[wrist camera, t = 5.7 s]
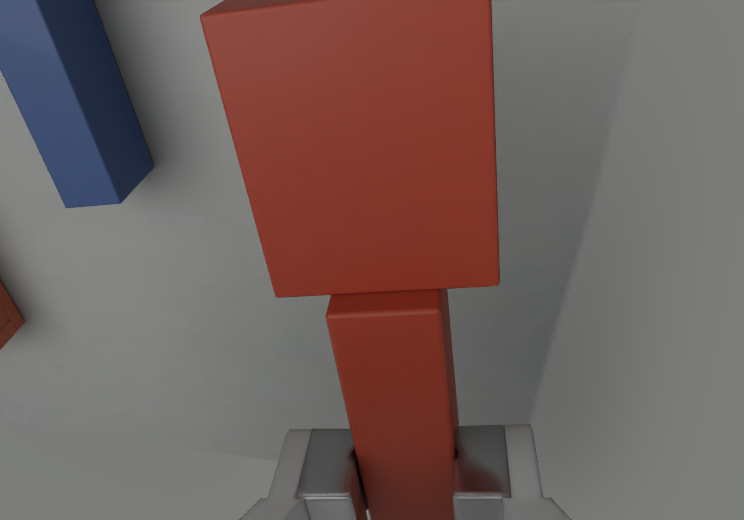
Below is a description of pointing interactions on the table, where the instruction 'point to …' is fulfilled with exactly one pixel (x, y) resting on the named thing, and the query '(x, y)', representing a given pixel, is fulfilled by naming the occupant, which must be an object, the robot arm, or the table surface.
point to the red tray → (8, 317)
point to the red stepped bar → (372, 202)
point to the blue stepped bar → (72, 99)
